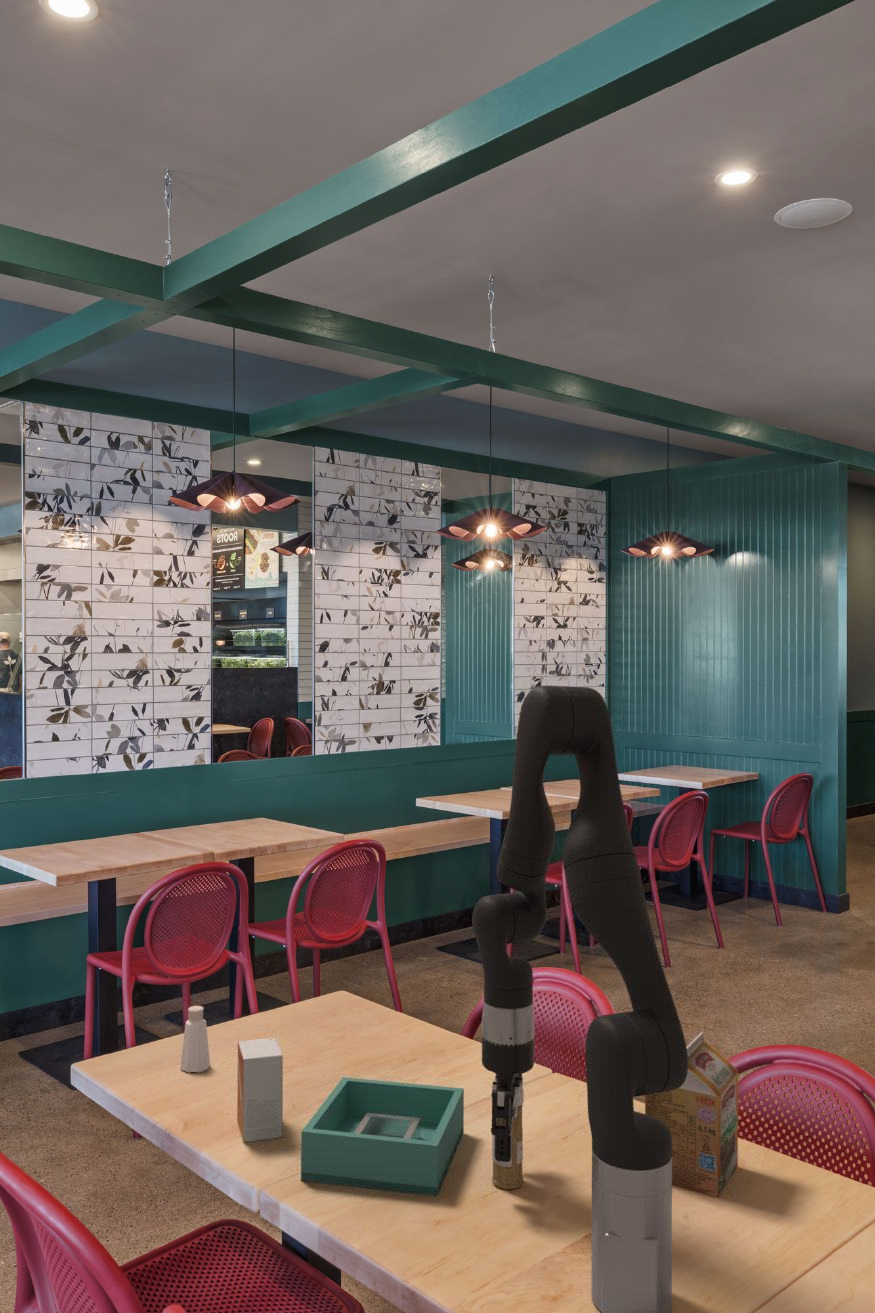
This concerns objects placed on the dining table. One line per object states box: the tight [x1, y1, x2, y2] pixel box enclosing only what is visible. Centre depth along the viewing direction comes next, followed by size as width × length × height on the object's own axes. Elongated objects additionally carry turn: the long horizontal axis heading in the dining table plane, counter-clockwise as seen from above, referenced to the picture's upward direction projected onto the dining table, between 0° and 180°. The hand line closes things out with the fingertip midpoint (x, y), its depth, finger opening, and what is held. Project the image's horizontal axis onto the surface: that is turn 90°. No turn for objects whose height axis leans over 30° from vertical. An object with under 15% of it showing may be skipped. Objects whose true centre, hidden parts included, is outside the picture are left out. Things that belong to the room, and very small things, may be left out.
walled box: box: [300, 1076, 465, 1197], centre depth 154 cm, size 20×20×7 cm
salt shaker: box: [179, 1005, 211, 1074], centre depth 187 cm, size 5×5×11 cm
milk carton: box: [644, 1031, 739, 1199], centre depth 149 cm, size 10×11×19 cm
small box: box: [236, 1037, 284, 1143], centre depth 162 cm, size 8×6×13 cm
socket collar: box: [354, 1113, 421, 1140], centre depth 154 cm, size 9×9×3 cm
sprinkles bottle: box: [491, 1087, 525, 1190], centre depth 146 cm, size 5×5×13 cm
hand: (507, 1146), depth 146 cm, fingers open, 8 cm apart
